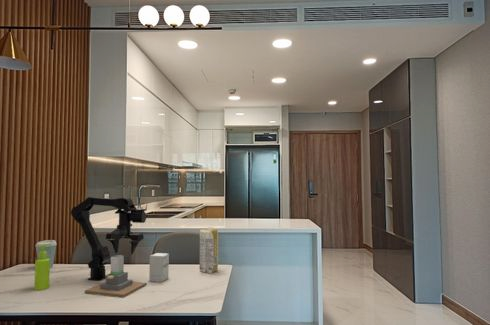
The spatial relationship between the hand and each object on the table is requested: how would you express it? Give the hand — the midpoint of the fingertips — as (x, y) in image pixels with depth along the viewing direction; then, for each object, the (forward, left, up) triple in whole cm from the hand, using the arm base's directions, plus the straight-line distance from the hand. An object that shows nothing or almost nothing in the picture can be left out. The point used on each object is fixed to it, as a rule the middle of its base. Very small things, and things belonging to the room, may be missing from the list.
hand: (124, 253), depth 177 cm
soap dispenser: (-28, -22, -13) cm, 38 cm away
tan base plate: (+6, -14, -13) cm, 20 cm away
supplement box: (+17, +5, -13) cm, 22 cm away
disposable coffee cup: (-57, +8, -13) cm, 59 cm away
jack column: (+6, -14, -8) cm, 17 cm away
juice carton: (+35, +27, -13) cm, 46 cm away
